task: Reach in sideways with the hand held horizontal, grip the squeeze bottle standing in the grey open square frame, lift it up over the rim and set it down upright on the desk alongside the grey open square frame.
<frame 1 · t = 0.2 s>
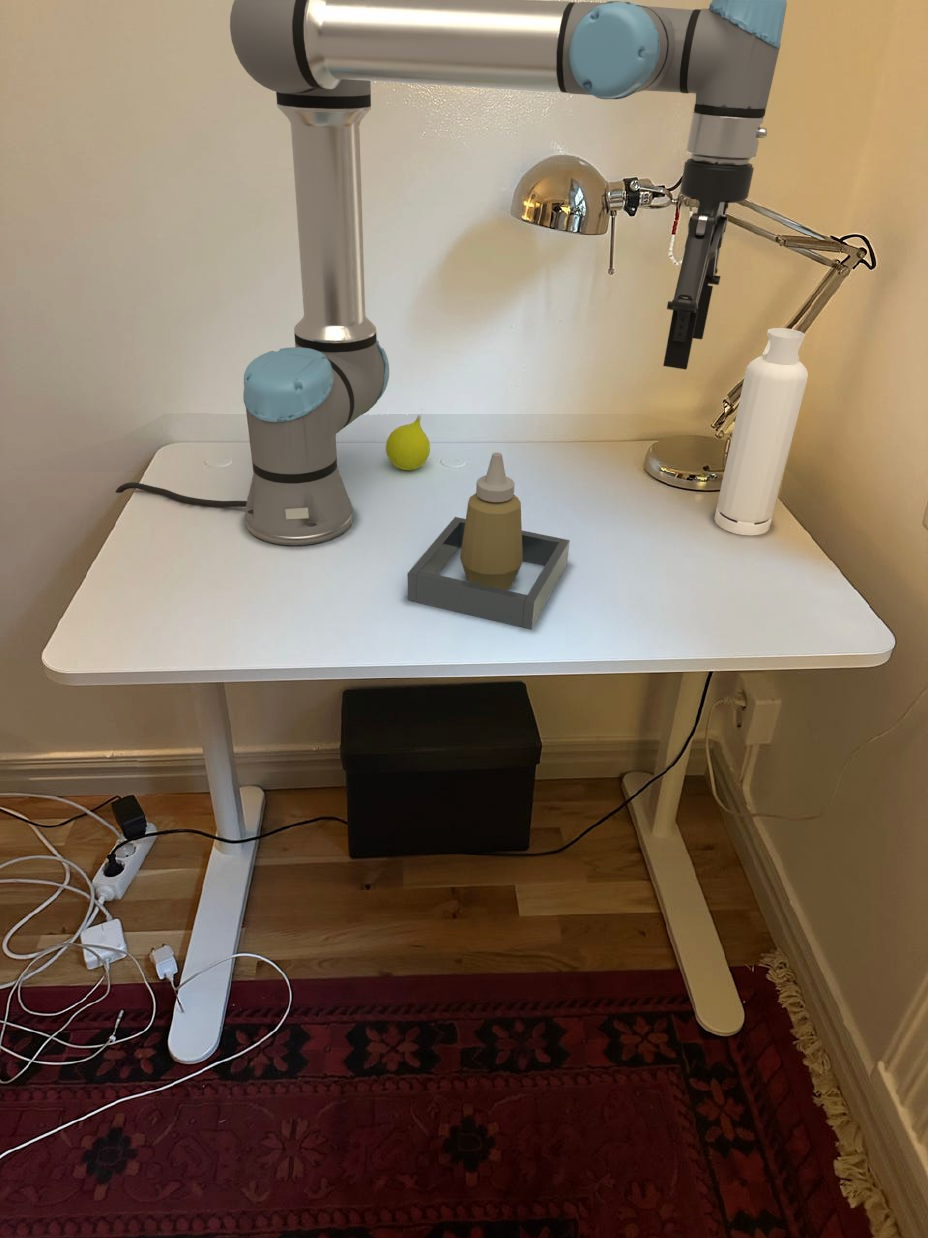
hand: (683, 351, 109), 28 cm above the table, tool pointing down, fingers open, 13 cm apart
grey open square frame: (490, 582, 115), on the table
squeeze bottle: (490, 583, 115), resting in grey open square frame
yellow teardrop-shaped fruit: (408, 469, 144), on the table
bottle: (741, 523, 132), on the table
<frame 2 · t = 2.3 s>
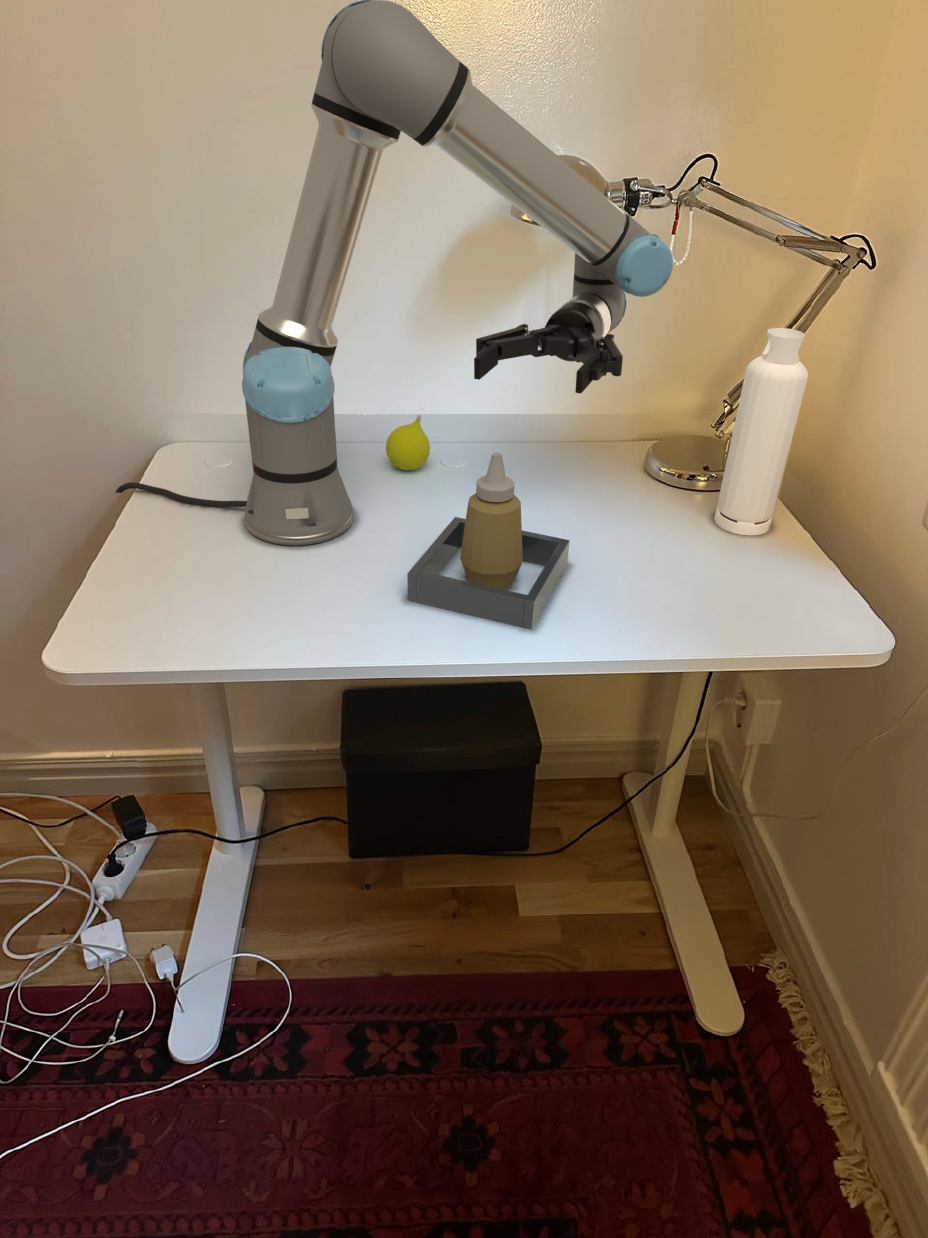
hand: (526, 375, 110), 24 cm above the table, tool horizontal, fingers open, 13 cm apart
nothing on the table moved.
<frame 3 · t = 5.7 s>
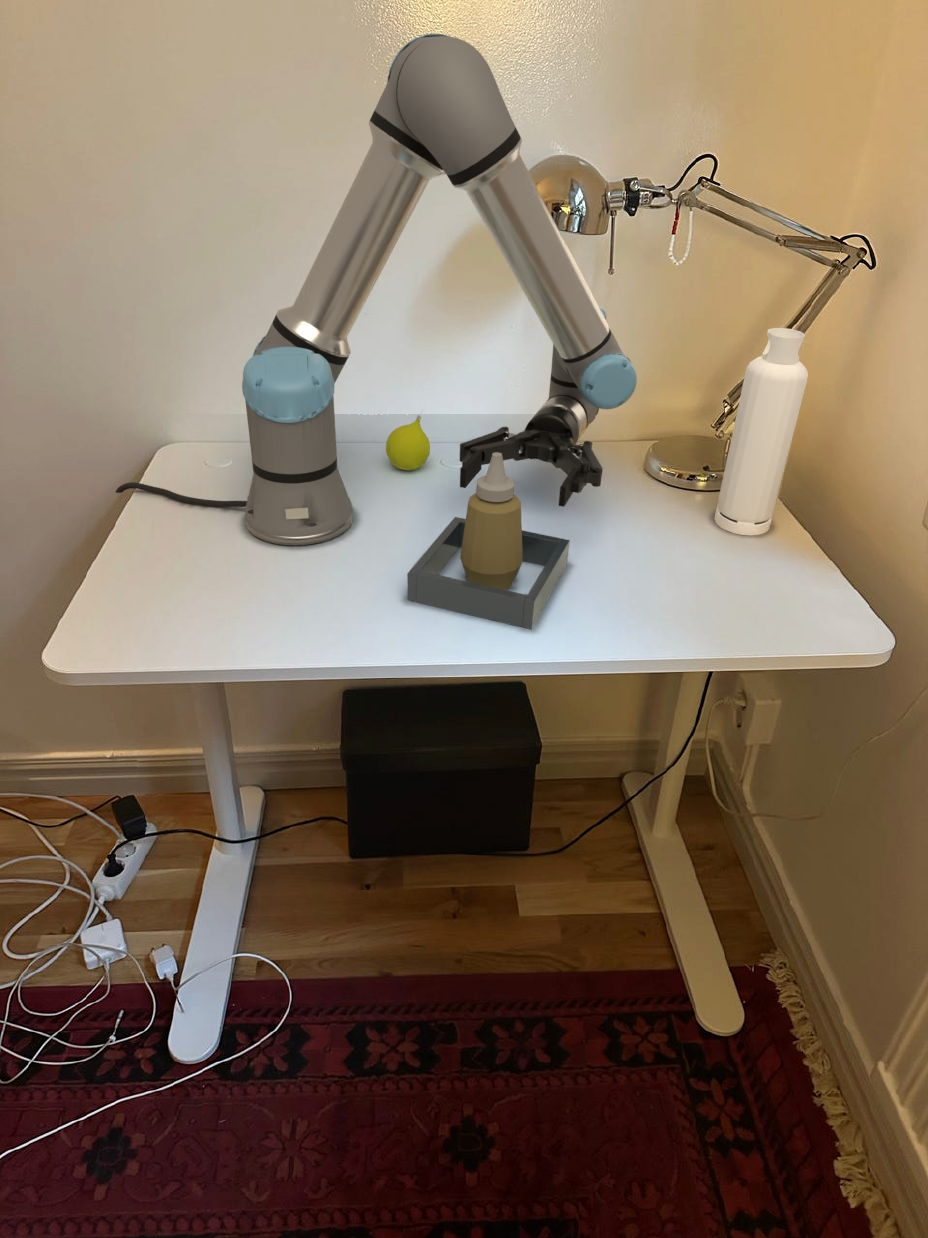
hand: (511, 487, 114), 11 cm above the table, tool horizontal, fingers open, 13 cm apart
nothing on the table moved.
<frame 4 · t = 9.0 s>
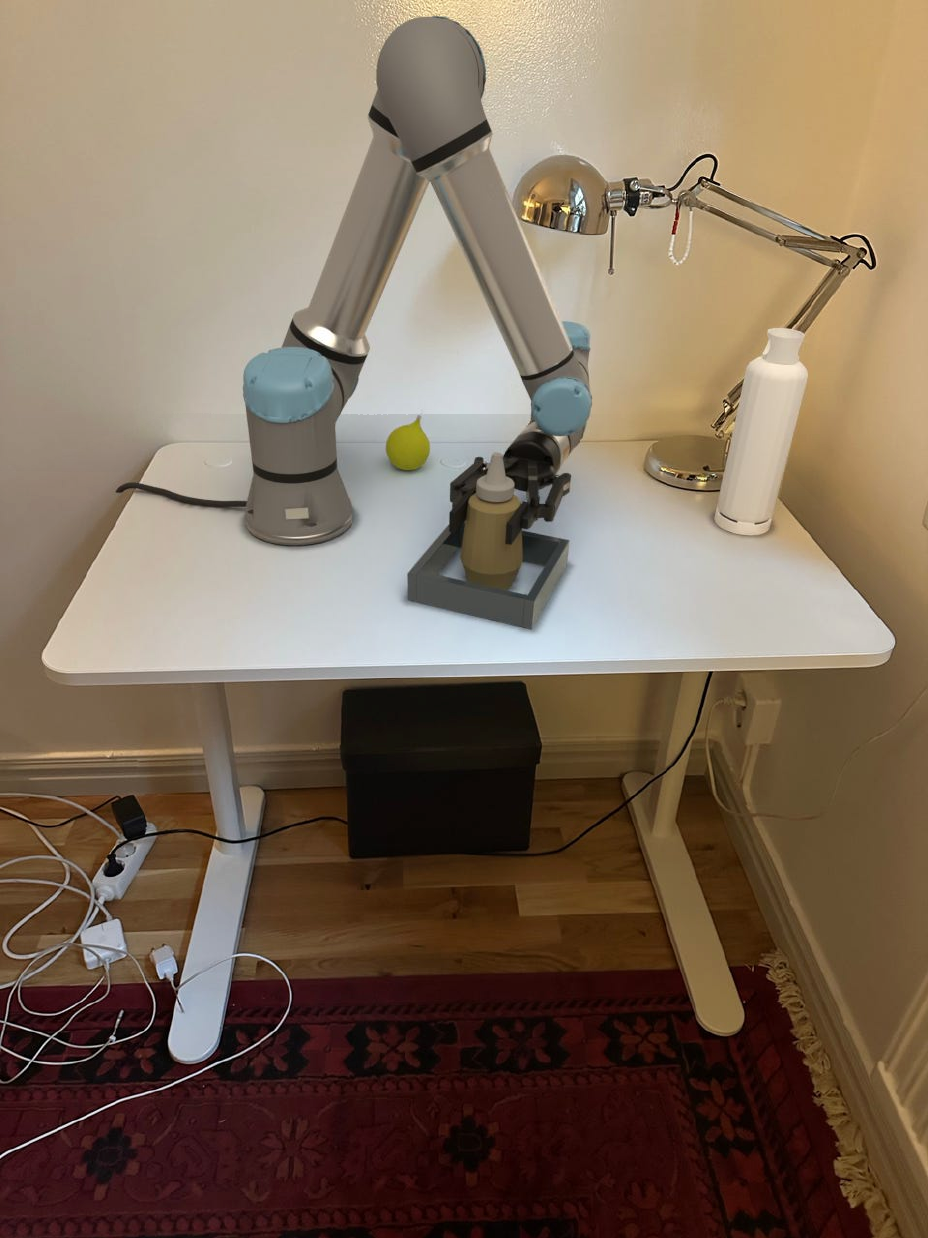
hand: (480, 528, 105), 10 cm above the table, tool horizontal, fingers closed on squeeze bottle, 6 cm apart
squeeze bottle: (490, 583, 115), resting in grey open square frame, touching gripper
everything else where it was.
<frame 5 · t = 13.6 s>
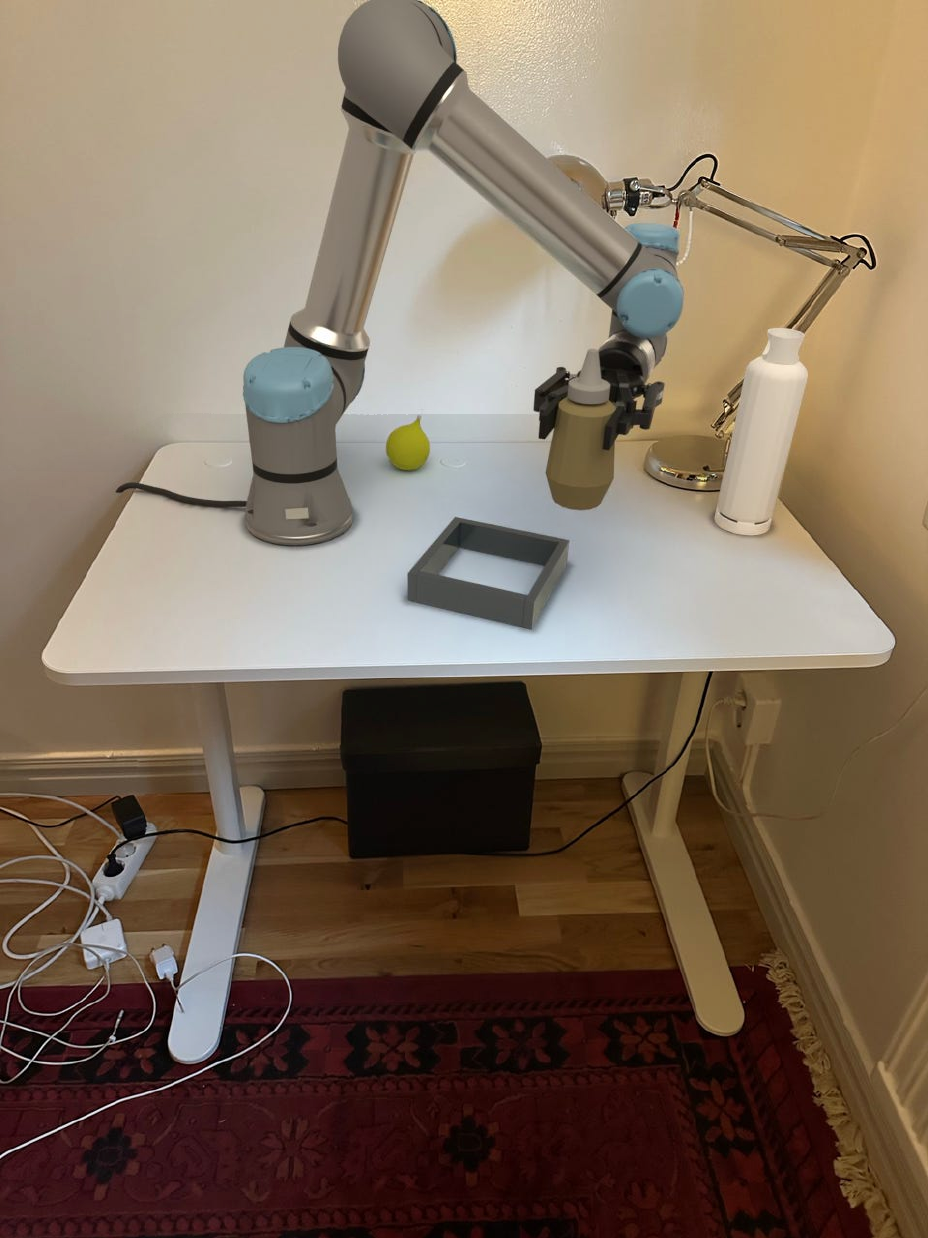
hand: (574, 432, 96), 24 cm above the table, tool horizontal, fingers closed on squeeze bottle, 6 cm apart
squeeze bottle: (576, 502, 105), point 13 cm above the table, touching gripper
everything else where it was.
when the fingers open (10 cm above the table, at t = 18.4 s): squeeze bottle stays where it is, on the table.
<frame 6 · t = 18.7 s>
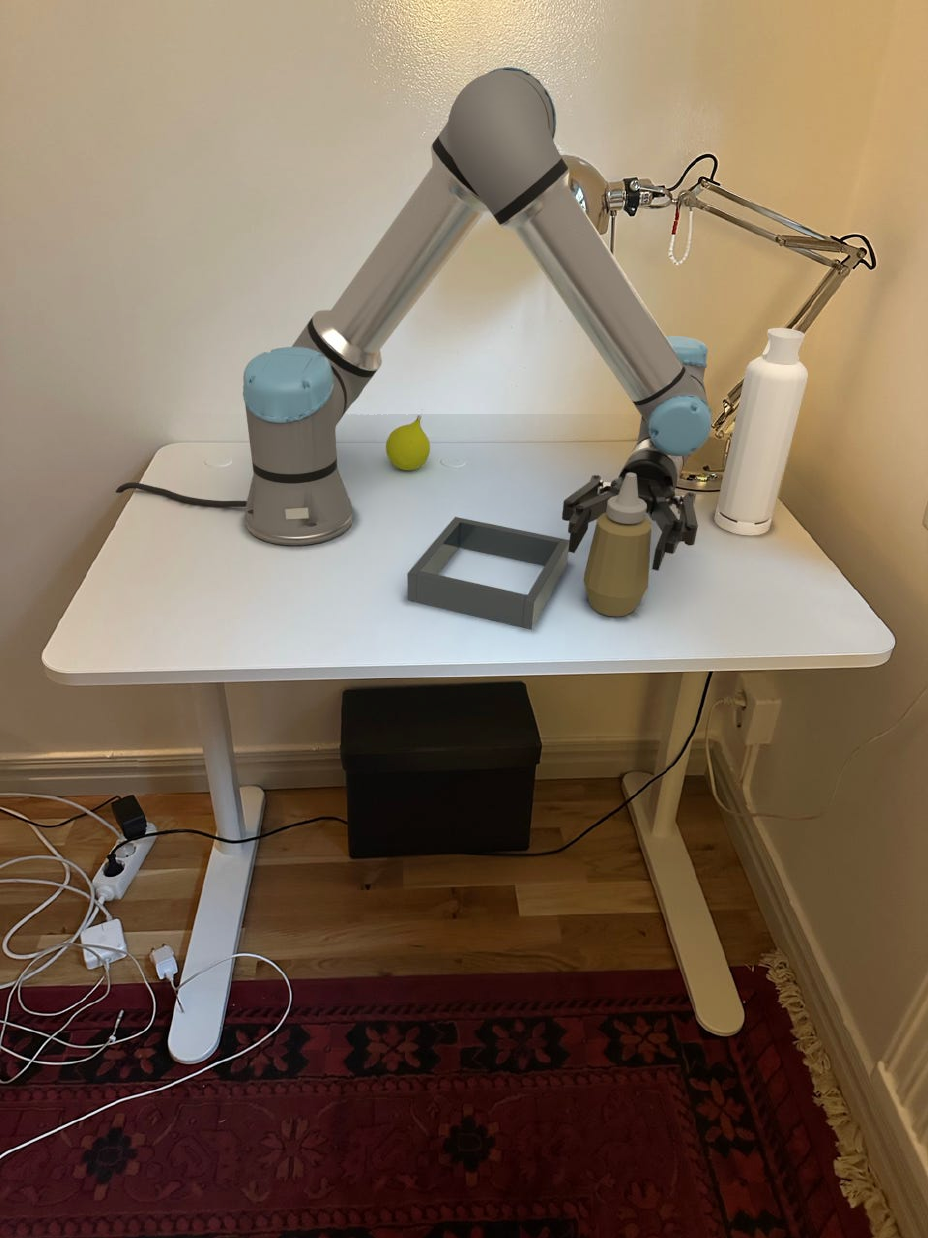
hand: (614, 551, 102), 10 cm above the table, tool horizontal, fingers open, 9 cm apart
squeeze bottle: (611, 606, 112), on the table
everything else where it was.
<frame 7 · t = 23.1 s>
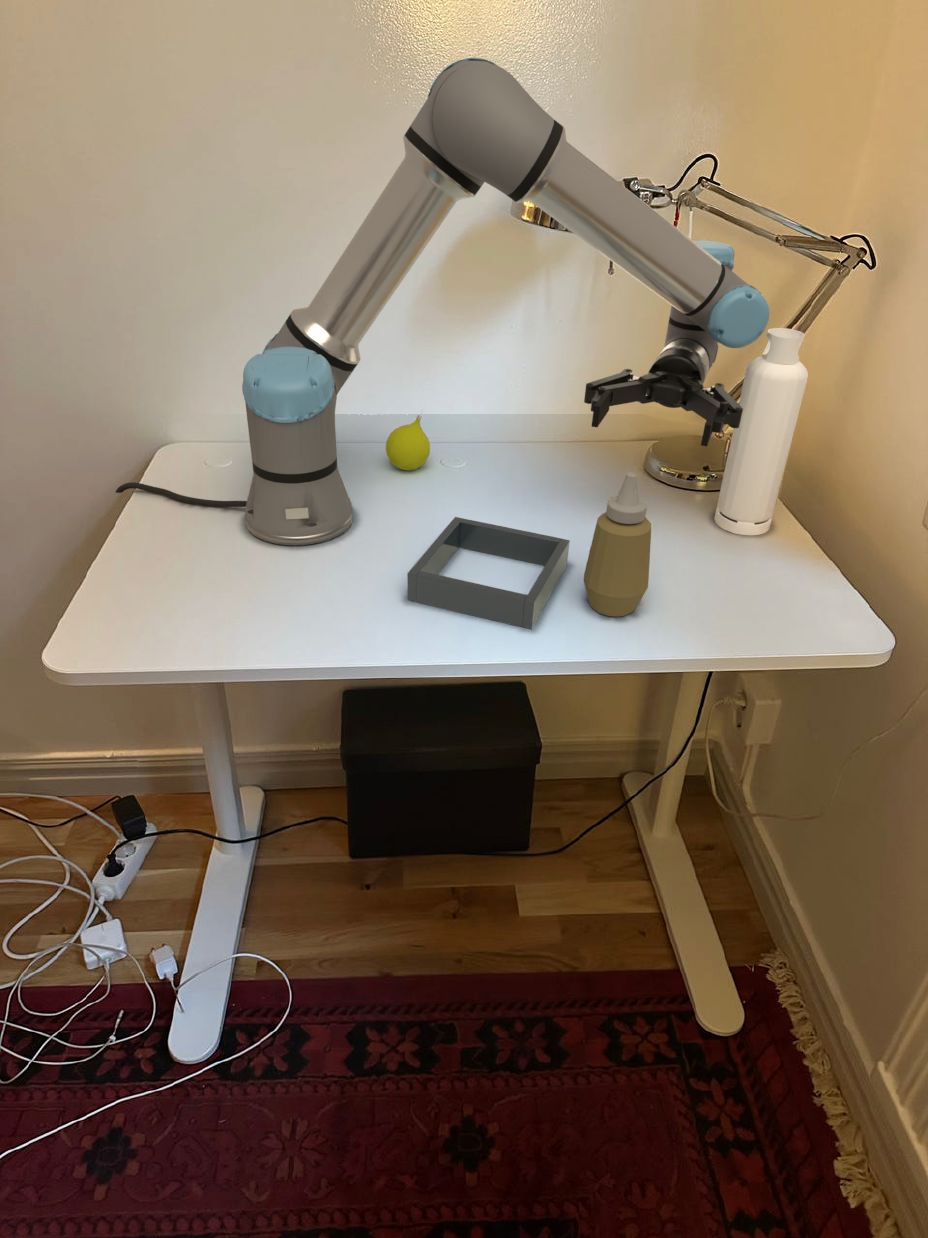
hand: (649, 425, 108), 20 cm above the table, tool horizontal, fingers open, 13 cm apart
nothing on the table moved.
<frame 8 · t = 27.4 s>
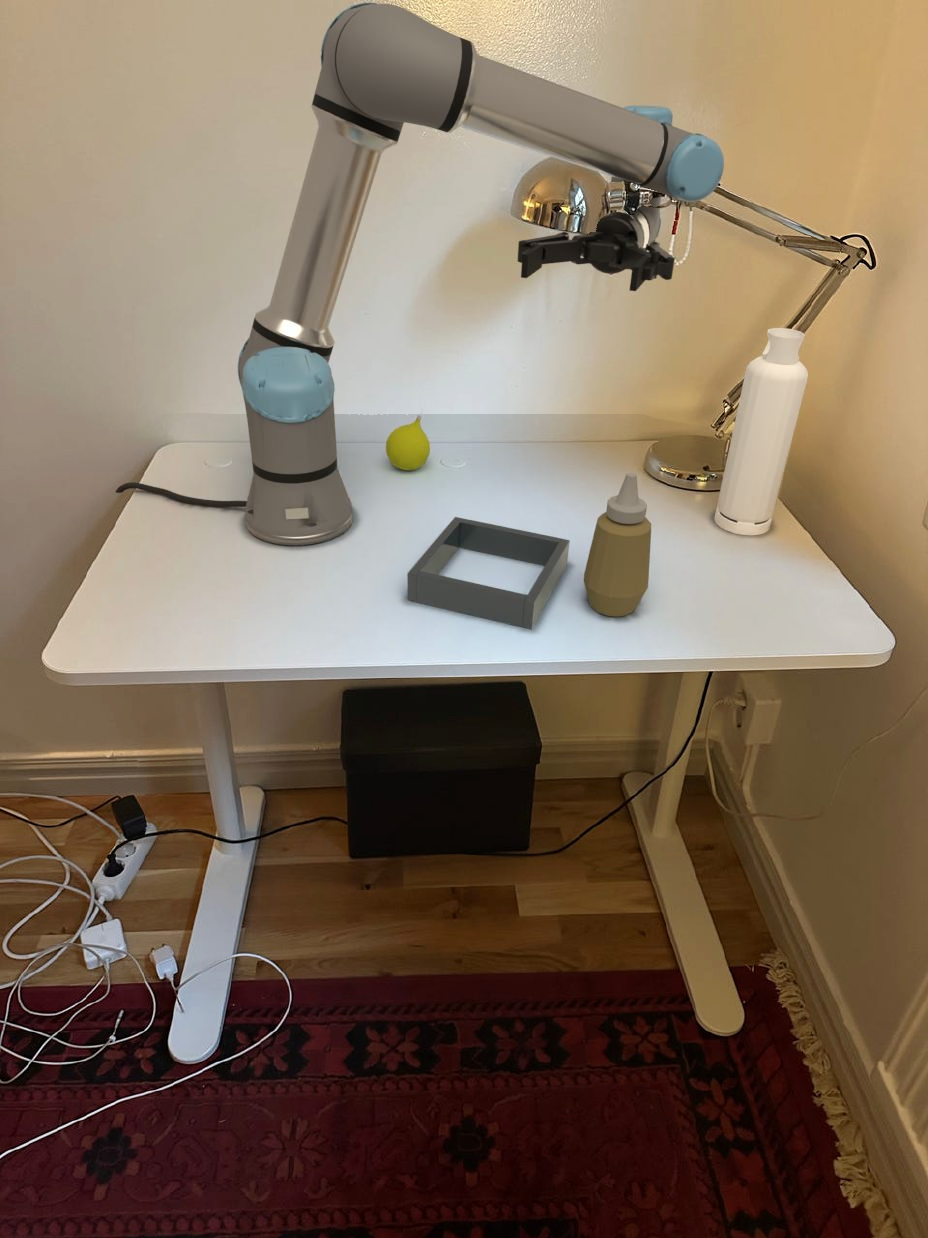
hand: (578, 272, 106), 36 cm above the table, tool horizontal, fingers open, 13 cm apart
nothing on the table moved.
at the end: squeeze bottle inside the target area (0.1 cm from its centre), on the table; squeeze bottle tilted 0°; the gripper is holding nothing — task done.
